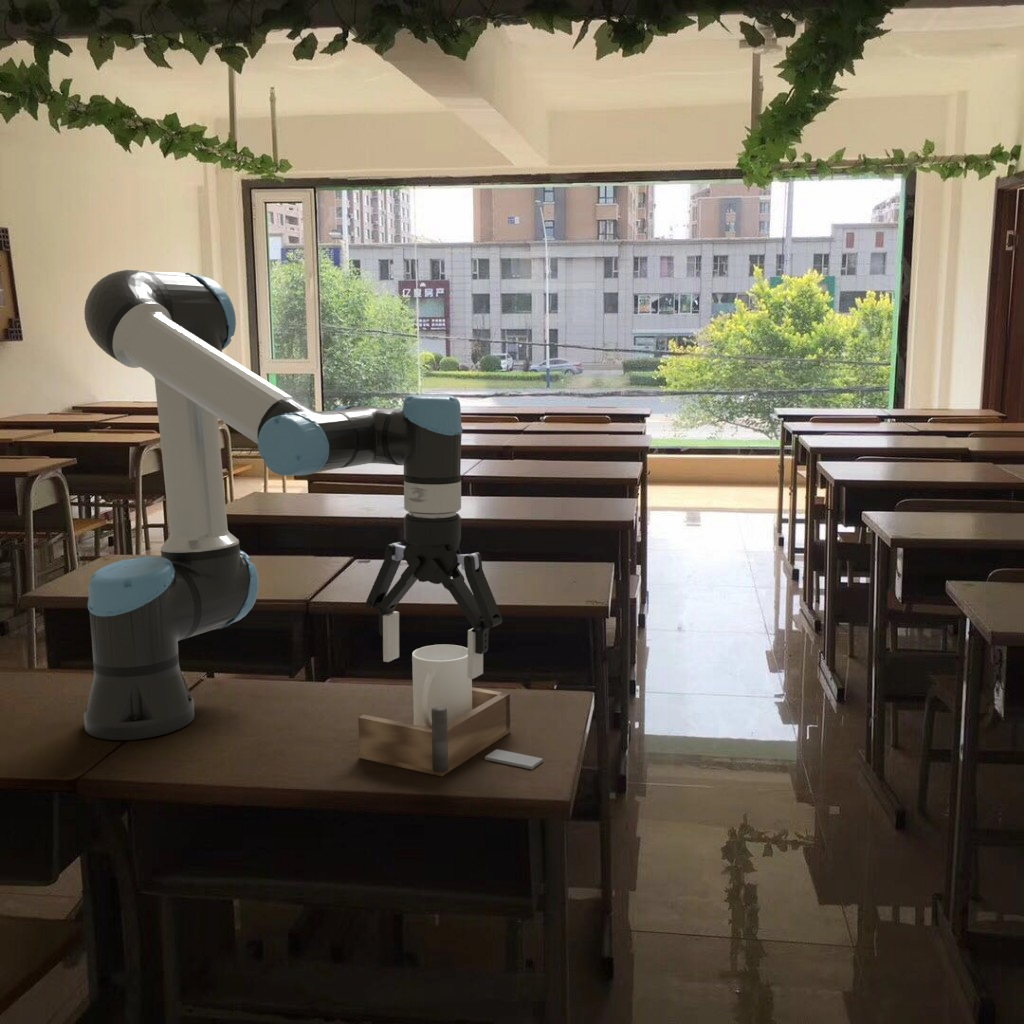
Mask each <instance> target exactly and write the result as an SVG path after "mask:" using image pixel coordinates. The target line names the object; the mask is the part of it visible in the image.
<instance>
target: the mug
mask: <svg viewBox="0 0 1024 1024" xmlns="http://www.w3.org/2000/svg"><path fill="white" fill-rule="evenodd" d="M411 654H412V655H411V662H412V701H413V702H412V703H413V724H414V725H418V726H423V727H428V728H432V716H431V709H432V708H434V707H439V706H441V707H446V708H447V723H448V724H449V723H451V722H452V721H454V720H456V719H458V718H459V717H461V716H463V715H464V714H466V713H468V712H470V711H471V710H472V687H473V679H469V678H468V647H465V646H462V645H456V644H433V645H425V646H422V647H420V648H416V649H415V650H413V651H412V653H411Z"/></svg>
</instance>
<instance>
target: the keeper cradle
mask: <svg viewBox="0 0 1024 1024" xmlns="http://www.w3.org/2000/svg"><path fill="white" fill-rule="evenodd" d="M431 716H432V728H428V727H423V726H418V725H414V723H408V722H403V721H398V720H394V719H393V720H392V719H389V718H384V717H377V716H373V715H368V714H362V715H360V716H359V717H358V718H357V720H358V723H357V724H358V748H359V750H358V751H359V754H358V755H359V758H360V759H363V760H368V761H371V762H376V763H381V764H386V765H390V766H393V767H399V768H402V769H407V770H412V771H417V772H421V773H425V774H428V775H429V774H430V775H434V776H439V777H443V776H445V775H446V774H448V773H450V772H451V771H453V770H454V769H456V768H457V767H459V766H461V765H462V764H464V763H465V762H467V761H468V760H469V759H471V758H473V757H474V756H476V755H477V754H478V753H481V752H482V751H483V750H485V749H487V748H488V747H490V746H491V745H493V744H494V743H495V742H497V741H499V740H500V739H502V738H503V737H505V736H507V735H508V734H510V733H511V693H507V692H501V691H495V690H491V689H484V688H478V687H473V686H472V710H471V711H470V712H468V713H466V714H464V715H463V716H461V717H459V718H458V719H456V720H454V721H452V722H451V723H449V724H448V723H447V708H446V707H441V706H439V707H434V708H432V709H431Z"/></svg>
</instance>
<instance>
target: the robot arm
mask: <svg viewBox="0 0 1024 1024" xmlns="http://www.w3.org/2000/svg"><path fill="white" fill-rule="evenodd" d="M83 312H84V322H85V326H86V329H87V331H88V333H89V336H90V337H91V338H92V340H93V341H94V342H95V344H96V345H97V346H98V347H99V348H100V349H101V350H102V351H103V352H105V354H107V355H109V356H110V357H111V358H112V359H114V360H116V361H117V362H119V363H120V364H122V365H123V366H125V367H128V368H132V369H137V368H142V369H143V370H144V371H145V372H148V373H149V374H150V376H152V377H153V378H154V385H155V397H156V408H157V417H158V427H159V438H160V447H161V456H162V457H161V458H162V459H161V460H162V470H163V478H164V479H163V480H164V486H165V487H164V490H165V497H166V500H165V501H166V509H167V518H168V519H167V520H168V528H169V529H168V530H169V531H168V532H169V535H168V537H167V539H166V540H165V541H164V543H163V544H162V545H161V546H160V554H161V556H152V555H150V556H140V557H139V556H138V557H135V558H132V559H130V558H126V559H123V560H118V561H115V562H112V563H109V564H107V565H105V566H103V567H101V568H99V569H98V570H97V571H95V572H94V573H92V574H93V575H92V576H91V577H90V579H89V581H88V582H89V583H88V599H87V609H88V612H89V613H88V614H89V622H90V634H91V647H92V649H91V650H92V660H93V662H92V665H93V679H92V683H91V684H92V685H91V687H90V690H89V692H90V693H89V697H88V702H87V706H86V708H85V711H84V713H83V720H84V731H85V732H86V733H87V734H88V735H90V736H92V737H94V738H97V739H102V740H110V741H111V740H112V741H132V740H133V741H134V740H142V739H149V738H155V737H158V736H159V737H160V736H163V735H166V734H169V733H173V732H176V731H178V730H180V729H182V728H184V727H186V726H188V725H190V723H192V721H193V720H194V719H195V715H196V714H195V701H194V698H193V696H192V695H191V694H190V689H189V688H188V685H187V682H186V679H185V677H184V675H183V673H182V670H181V668H180V662H179V661H180V660H179V643H178V642H179V641H181V640H182V641H183V640H186V639H188V638H190V637H191V638H192V637H194V636H198V635H200V634H203V633H207V632H210V631H214V630H220V629H221V630H222V629H223V628H226V627H228V626H230V625H231V624H234V623H236V622H238V621H240V620H242V619H243V618H244V617H246V616H247V614H249V612H250V611H251V610H252V609H253V607H254V605H255V603H256V601H257V597H258V593H259V583H260V582H259V575H258V571H257V568H256V566H255V563H252V562H251V558H250V556H249V555H248V554H247V553H246V552H245V551H243V550H241V549H240V540H239V538H237V537H236V536H235V535H233V534H232V533H230V531H229V530H228V529H229V528H228V517H227V506H226V496H225V495H226V493H225V483H224V474H223V461H222V450H221V438H220V429H219V420H221V421H222V422H224V423H225V424H226V425H228V426H230V427H231V428H233V430H235V431H237V432H238V433H241V434H242V435H243V436H245V437H246V438H247V439H249V440H250V441H252V442H253V443H255V444H256V445H257V448H258V453H259V455H260V458H261V459H262V460H263V462H264V463H265V467H266V468H267V469H268V470H270V471H271V472H273V473H274V474H276V475H278V476H282V477H284V476H286V477H291V476H295V477H296V476H297V477H300V476H302V477H305V476H308V475H312V474H316V473H321V472H327V471H331V470H332V471H333V470H336V469H344V468H350V467H356V466H361V465H367V464H378V465H379V464H380V465H382V464H384V465H395V466H403V509H404V510H405V511H406V512H408V513H406V514H405V515H404V516H403V539H404V541H405V542H406V544H405V545H403V543H402V542H400V541H396V542H392V543H390V544H387V545H386V546H385V548H384V558H383V559H384V560H383V562H382V564H381V566H380V568H379V570H378V573H377V576H376V578H375V580H374V583H373V585H372V587H371V590H370V592H369V594H368V597H367V599H366V602H365V605H366V606H367V608H372V609H374V610H376V611H377V613H378V633H379V635H380V636H382V658H383V660H382V661H383V662H384V663H385V662H386V663H389V662H392V661H394V660H395V659H398V658H400V612H399V611H396V610H395V609H397V607H396V606H398V604H399V603H400V601H401V600H402V599H403V598H404V597H405V596H406V594H407V593H408V592H409V590H410V589H411V588H412V587H413V586H414V584H415V583H417V581H418V582H421V583H425V582H426V583H427V582H430V583H431V584H435V585H441V584H442V586H443V588H444V589H445V590H447V591H449V593H450V594H451V596H452V597H453V600H454V601H455V602H456V603H457V605H458V607H459V608H460V610H461V611H462V613H463V615H465V617H466V620H467V621H468V622H469V623H470V625H471V627H472V628H470V629H468V630H467V648H468V678H469V679H472V680H473V679H474V680H475V678H478V677H479V676H481V675H483V674H484V654H485V653H487V652H488V650H489V630H490V629H493V628H494V627H496V626H498V625H501V624H502V623H503V617H502V615H501V611H500V610H499V607H498V605H497V603H496V600H495V597H494V595H493V592H492V590H491V588H490V585H489V583H488V580H487V577H486V575H485V573H484V570H483V563H482V562H483V561H482V555H481V553H480V552H478V551H477V552H476V551H475V552H473V553H465V554H464V553H463V554H462V552H461V550H460V542H461V540H462V539H461V538H462V517H461V515H460V514H459V513H458V512H459V511H460V510H461V509H462V480H461V479H462V474H461V462H462V459H461V457H462V455H461V454H462V435H463V426H462V413H461V411H462V409H461V402H460V401H459V399H458V398H457V397H455V396H454V395H449V394H427V393H426V394H409V395H406V397H405V398H404V399H403V406H402V408H389V407H377V406H376V407H375V406H365V405H363V404H356V405H340V406H338V407H336V408H334V409H333V410H332V409H331V410H330V409H329V410H323V411H322V410H320V411H319V410H318V411H317V410H314V409H313V408H310V407H309V406H307V405H306V404H304V403H302V402H301V401H299V400H297V399H296V398H294V396H292V395H290V394H288V393H286V392H285V391H284V390H283V389H280V388H279V387H277V386H276V385H274V384H273V383H270V382H269V381H268V380H266V379H265V378H263V377H261V376H260V375H258V374H257V373H255V372H253V371H252V370H250V369H249V368H247V367H245V366H244V365H242V364H241V363H239V362H238V361H236V360H235V359H233V358H231V357H230V356H228V355H227V354H226V353H223V350H225V348H228V346H229V345H230V343H231V342H232V337H234V335H235V332H236V325H237V319H236V310H235V308H234V304H233V302H232V300H231V298H230V296H229V295H228V293H227V292H226V291H225V289H224V288H223V287H221V285H220V284H219V283H218V282H217V281H215V280H214V279H212V278H211V277H207V276H203V275H198V274H194V273H193V274H192V273H190V272H169V271H147V270H146V271H145V270H136V269H135V270H134V269H131V270H130V269H124V270H118V271H116V272H112V273H110V274H107V275H106V276H104V277H102V278H101V279H99V280H98V281H97V282H96V283H95V285H94V286H92V288H91V289H90V291H89V293H88V295H87V298H86V300H85V305H84V311H83ZM403 559H404V560H405V561H406V562H407V565H408V566H407V567H406V568H405V570H403V572H402V573H401V575H400V578H399V579H398V580H397V582H396V583H395V584H394V585H393V587H392V588H391V586H392V583H393V580H394V578H395V576H396V574H397V571H398V569H399V567H400V566H401V562H402V560H403ZM460 565H461V569H462V570H463V571H464V574H465V576H464V575H463V574H462V572H461V571H460V569H459V567H460ZM465 577H466V579H465ZM465 580H467V582H468V585H469V586H468V585H467V583H466V582H465ZM390 588H391V589H390Z"/></svg>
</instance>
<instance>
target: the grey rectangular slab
mask: <svg viewBox="0 0 1024 1024" xmlns="http://www.w3.org/2000/svg"><path fill="white" fill-rule="evenodd" d="M484 760H485V761H490V762H494V763H495V762H496V763H500V764H504V765H508V766H513V767H519V768H523V769H528V770H533V769H535V768H536V767H537V766H539V765H540V764H542V763H543V762H544V759H543V758H541V757H537V756H532V755H528V754H522V753H518V752H514V751H513V752H512V751H507V750H503V749H498V748H497V749H495V750H493V751H492V752H490V753H488V754H487V755H486V756H484Z"/></svg>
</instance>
